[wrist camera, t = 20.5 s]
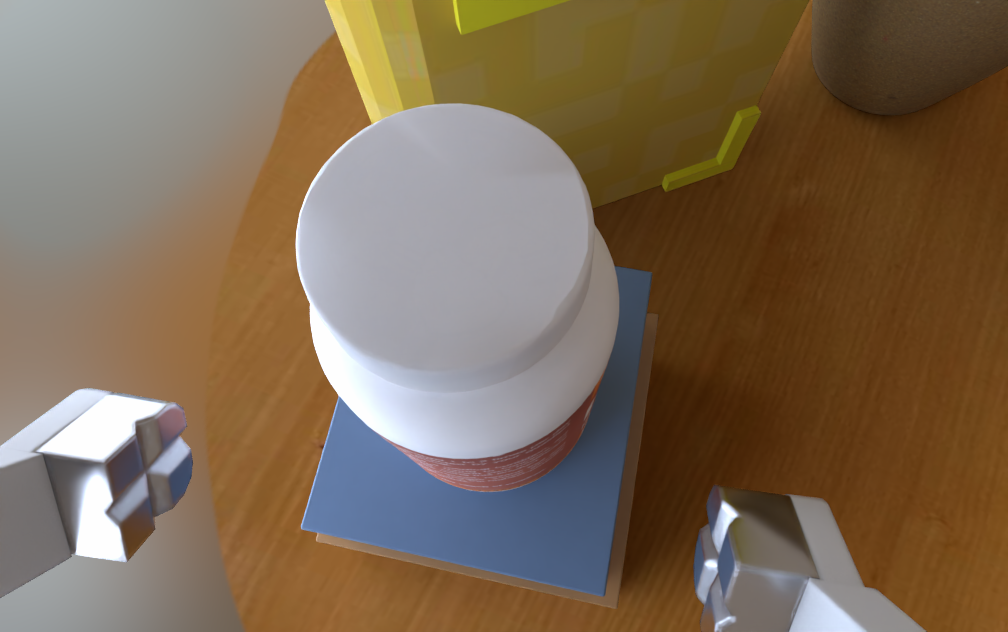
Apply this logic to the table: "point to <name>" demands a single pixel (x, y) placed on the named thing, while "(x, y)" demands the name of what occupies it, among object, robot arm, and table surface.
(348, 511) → the box stack
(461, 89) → the book
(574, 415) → the pill bottle
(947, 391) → the table surface
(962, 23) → the plant pot
